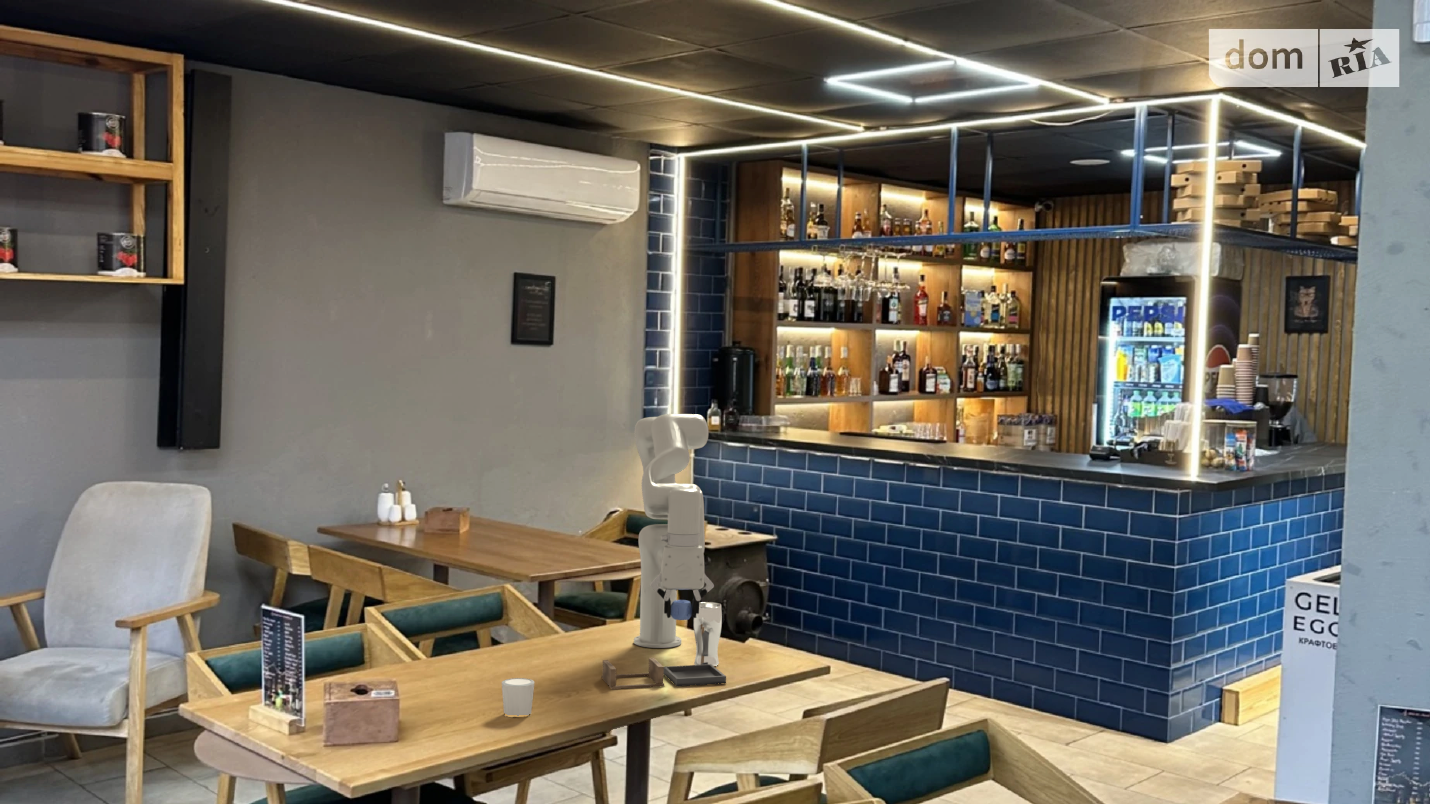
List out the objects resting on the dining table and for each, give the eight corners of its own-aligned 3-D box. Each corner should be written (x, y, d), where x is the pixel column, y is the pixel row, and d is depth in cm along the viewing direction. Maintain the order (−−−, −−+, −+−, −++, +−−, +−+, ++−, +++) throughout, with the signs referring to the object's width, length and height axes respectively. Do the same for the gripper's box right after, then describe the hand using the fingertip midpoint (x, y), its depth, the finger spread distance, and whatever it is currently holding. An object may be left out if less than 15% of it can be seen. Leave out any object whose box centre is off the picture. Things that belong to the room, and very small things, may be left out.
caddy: (601, 677, 306) (601, 659, 306) (652, 675, 310) (652, 656, 310) (611, 689, 296) (612, 670, 296) (664, 686, 299) (664, 667, 299)
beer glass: (721, 662, 325) (723, 602, 324) (719, 668, 318) (720, 607, 317) (694, 660, 325) (695, 601, 325) (690, 667, 319) (692, 606, 318)
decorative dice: (692, 617, 307) (693, 601, 306) (684, 620, 303) (685, 604, 303) (677, 615, 308) (678, 599, 308) (669, 618, 305) (670, 602, 305)
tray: (663, 674, 311) (663, 666, 311) (710, 671, 315) (711, 664, 315) (676, 686, 300) (676, 678, 300) (726, 683, 303) (726, 676, 303)
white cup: (519, 720, 269) (520, 687, 269) (494, 715, 273) (494, 682, 272) (540, 713, 275) (541, 680, 275) (515, 708, 279) (516, 675, 278)
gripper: (647, 542, 300) (645, 620, 301) (721, 543, 302) (719, 620, 303) (646, 537, 308) (644, 613, 309) (717, 538, 310) (715, 613, 310)
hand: (681, 615), depth 306 cm, fingers closed on decorative dice, 5 cm apart
